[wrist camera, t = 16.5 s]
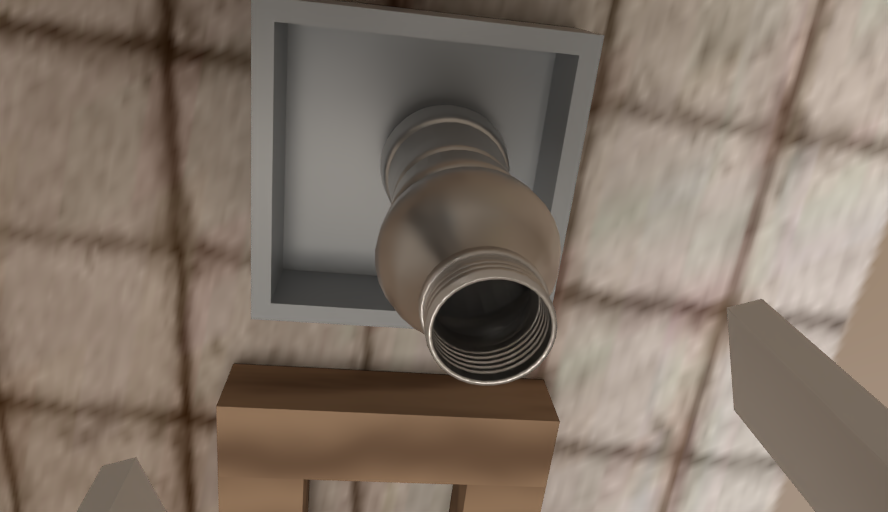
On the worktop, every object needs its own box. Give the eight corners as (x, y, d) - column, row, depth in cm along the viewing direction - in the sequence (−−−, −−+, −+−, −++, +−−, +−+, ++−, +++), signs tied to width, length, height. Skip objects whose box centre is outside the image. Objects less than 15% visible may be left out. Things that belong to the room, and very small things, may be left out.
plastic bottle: (502, 205, 38) (609, 415, 20) (385, 215, 38) (383, 438, 19) (499, 91, 36) (617, 212, 17) (373, 101, 35) (358, 234, 17)
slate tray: (270, -8, 33) (251, -6, 29) (576, 27, 35) (604, 35, 31) (266, 279, 39) (251, 318, 35) (528, 296, 41) (546, 336, 37)
